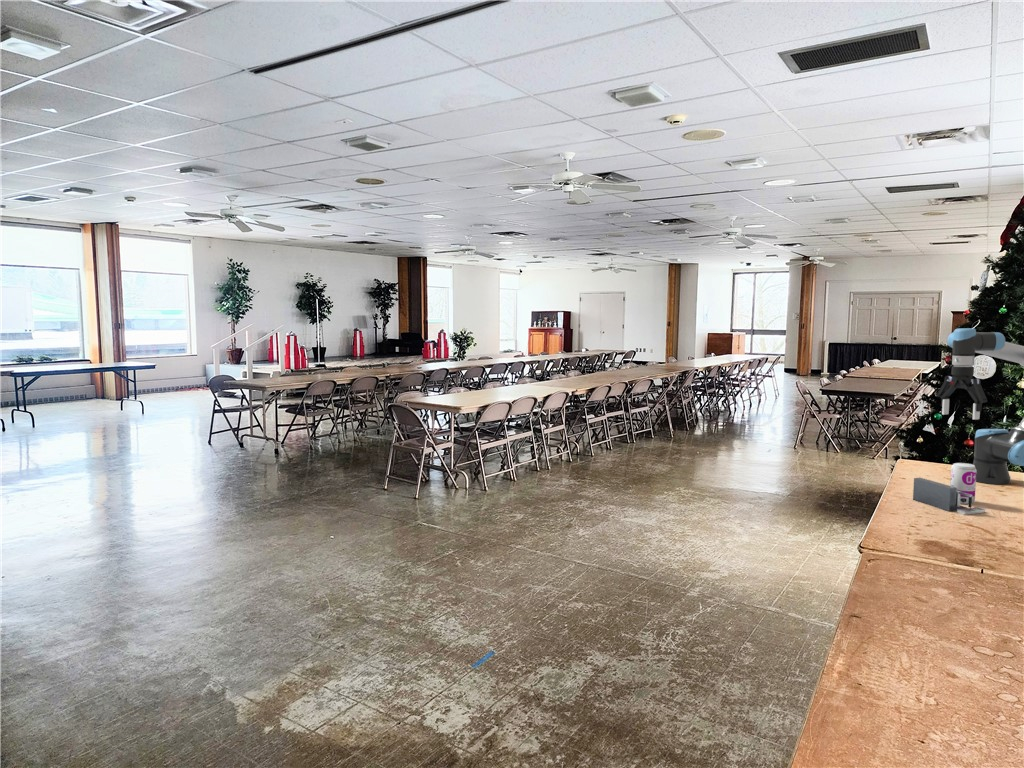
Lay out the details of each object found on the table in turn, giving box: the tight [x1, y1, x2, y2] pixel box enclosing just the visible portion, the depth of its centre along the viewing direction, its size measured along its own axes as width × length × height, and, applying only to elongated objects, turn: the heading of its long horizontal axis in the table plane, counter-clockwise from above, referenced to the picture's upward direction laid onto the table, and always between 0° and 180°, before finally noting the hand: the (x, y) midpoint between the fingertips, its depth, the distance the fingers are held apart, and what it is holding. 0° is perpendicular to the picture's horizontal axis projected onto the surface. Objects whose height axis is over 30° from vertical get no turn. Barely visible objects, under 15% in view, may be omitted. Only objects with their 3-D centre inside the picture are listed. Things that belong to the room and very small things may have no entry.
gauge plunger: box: [956, 490, 973, 508], centre depth 249 cm, size 1×19×6 cm, turn 15°
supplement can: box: [949, 462, 977, 505], centre depth 254 cm, size 8×8×15 cm
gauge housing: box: [912, 477, 986, 516], centre depth 249 cm, size 12×21×9 cm, turn 15°
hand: (960, 416), depth 266 cm, fingers open, 13 cm apart
